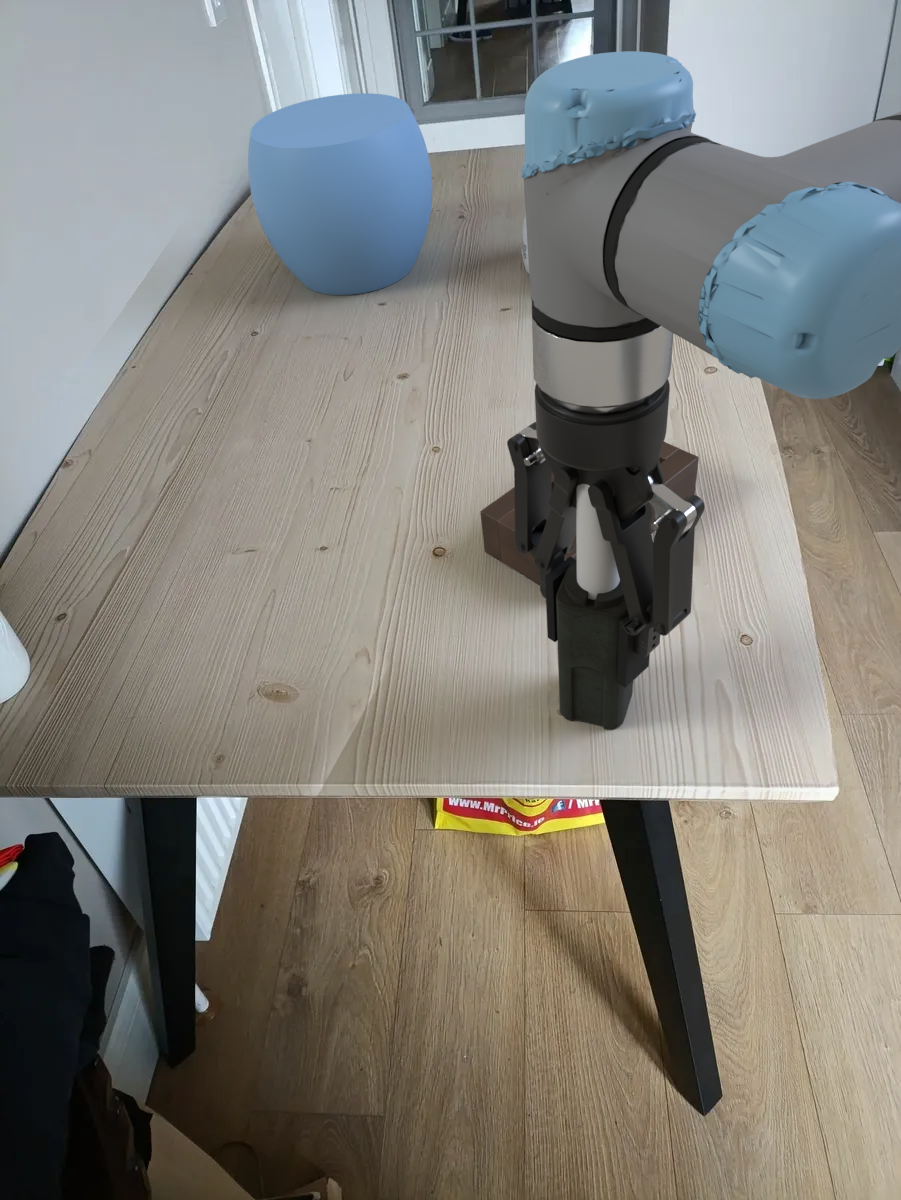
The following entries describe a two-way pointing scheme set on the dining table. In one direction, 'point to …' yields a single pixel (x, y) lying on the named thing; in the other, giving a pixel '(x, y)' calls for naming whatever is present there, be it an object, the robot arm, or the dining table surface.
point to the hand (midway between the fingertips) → (597, 651)
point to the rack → (502, 546)
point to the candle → (591, 627)
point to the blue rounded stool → (342, 190)
